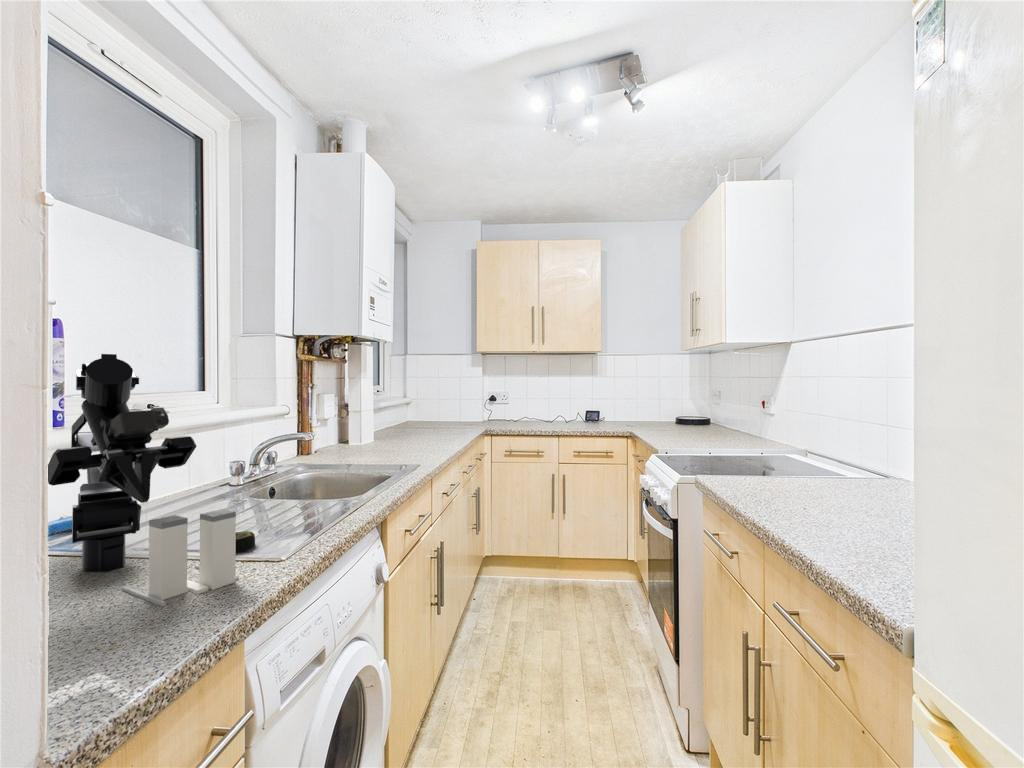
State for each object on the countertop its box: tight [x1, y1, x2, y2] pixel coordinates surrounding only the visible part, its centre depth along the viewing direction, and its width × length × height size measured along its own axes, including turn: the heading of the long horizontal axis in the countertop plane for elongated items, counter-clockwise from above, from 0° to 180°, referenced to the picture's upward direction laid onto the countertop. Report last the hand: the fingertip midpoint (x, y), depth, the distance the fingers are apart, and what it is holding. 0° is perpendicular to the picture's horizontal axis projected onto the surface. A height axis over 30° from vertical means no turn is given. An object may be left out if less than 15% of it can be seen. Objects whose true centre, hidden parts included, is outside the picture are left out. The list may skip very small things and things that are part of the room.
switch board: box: [121, 564, 240, 607], centre depth 77 cm, size 14×11×2 cm
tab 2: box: [199, 508, 237, 591], centre depth 77 cm, size 4×4×11 cm
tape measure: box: [236, 530, 256, 554], centre depth 94 cm, size 7×7×4 cm
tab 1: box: [148, 514, 188, 601], centre depth 73 cm, size 4×4×11 cm
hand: (145, 500), depth 77 cm, fingers closed
